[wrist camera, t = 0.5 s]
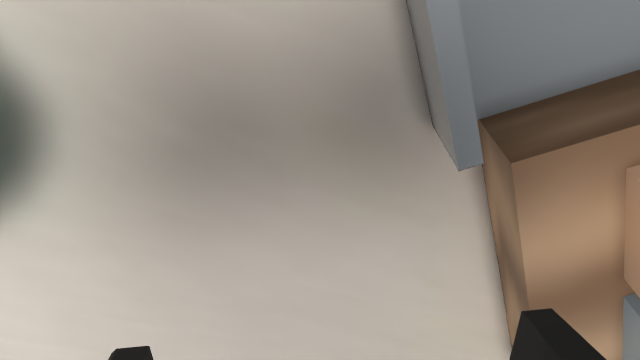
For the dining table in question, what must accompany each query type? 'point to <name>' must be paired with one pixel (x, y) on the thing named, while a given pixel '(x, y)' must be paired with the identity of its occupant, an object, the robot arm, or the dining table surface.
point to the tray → (514, 57)
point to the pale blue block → (631, 327)
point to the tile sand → (632, 229)
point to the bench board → (565, 205)
